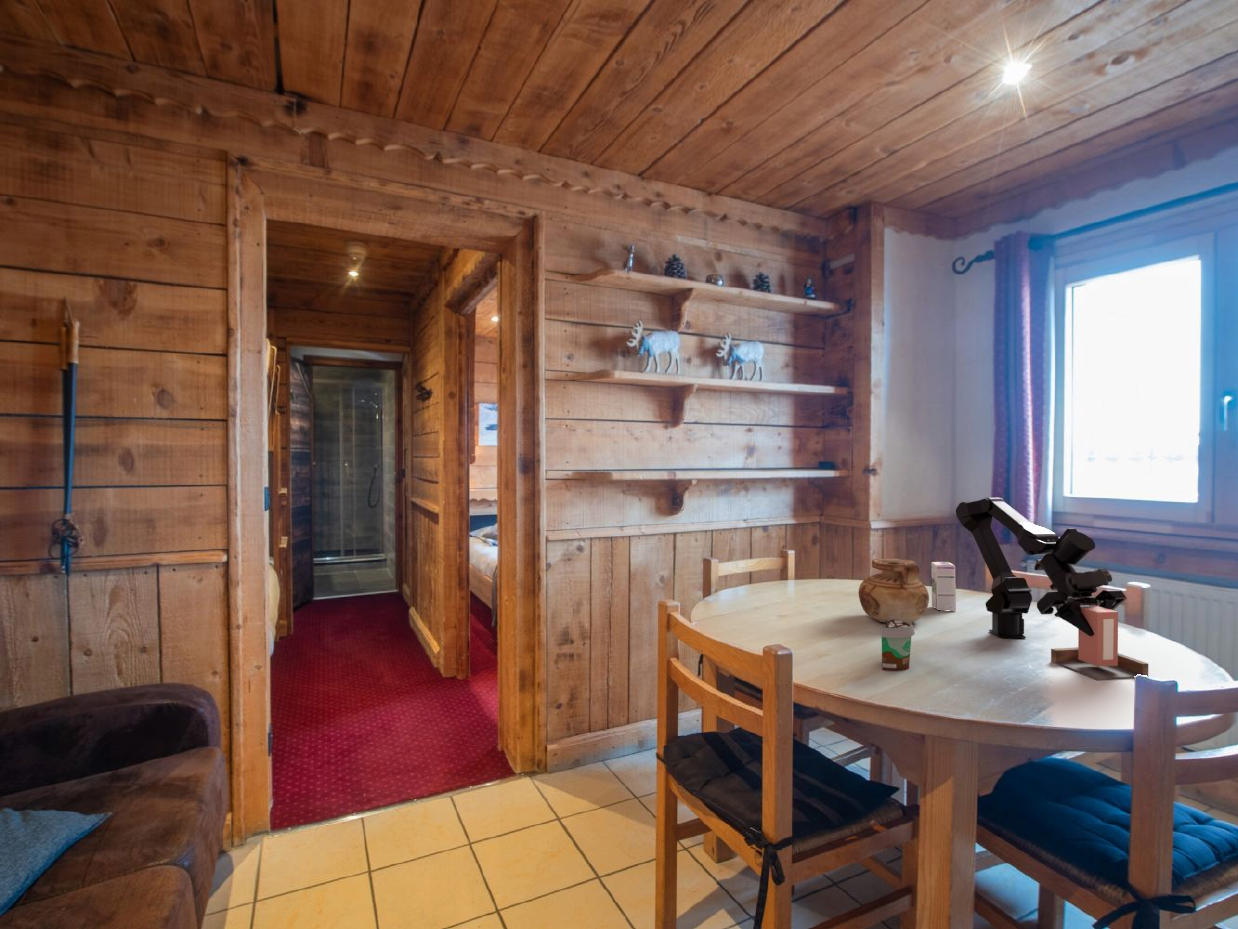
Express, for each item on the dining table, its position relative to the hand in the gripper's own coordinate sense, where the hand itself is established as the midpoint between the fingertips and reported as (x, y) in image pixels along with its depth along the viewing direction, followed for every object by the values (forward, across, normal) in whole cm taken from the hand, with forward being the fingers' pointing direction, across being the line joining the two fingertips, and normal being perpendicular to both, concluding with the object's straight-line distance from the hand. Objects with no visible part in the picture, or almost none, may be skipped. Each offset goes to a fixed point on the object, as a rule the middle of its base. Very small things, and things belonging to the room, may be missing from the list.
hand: (1103, 634), depth 141 cm
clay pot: (-27, -22, +40) cm, 53 cm away
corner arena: (+5, 0, +7) cm, 8 cm away
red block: (+4, 0, +6) cm, 7 cm away
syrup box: (-34, +1, +47) cm, 58 cm away
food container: (-1, -42, +13) cm, 44 cm away
